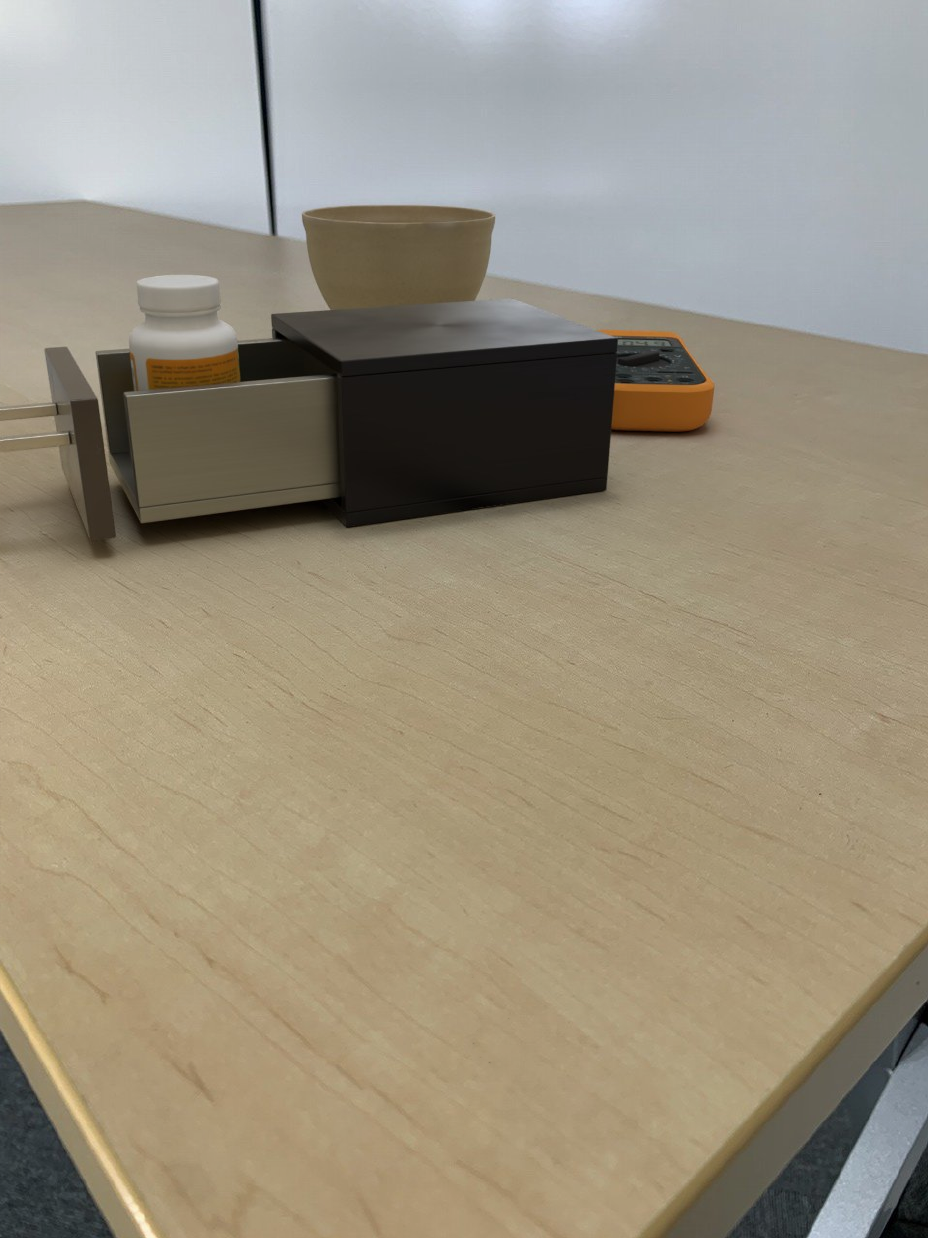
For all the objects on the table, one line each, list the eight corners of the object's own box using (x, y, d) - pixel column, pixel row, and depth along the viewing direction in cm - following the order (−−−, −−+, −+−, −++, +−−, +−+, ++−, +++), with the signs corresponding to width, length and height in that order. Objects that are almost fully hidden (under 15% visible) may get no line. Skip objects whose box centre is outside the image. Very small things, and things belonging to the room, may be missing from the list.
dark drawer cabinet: (346, 527, 57) (341, 361, 53) (279, 457, 67) (270, 313, 63) (606, 490, 63) (618, 337, 59) (508, 431, 73) (513, 297, 69)
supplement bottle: (268, 468, 59) (256, 280, 55) (183, 492, 55) (163, 293, 51) (207, 446, 62) (191, 267, 58) (123, 468, 58) (99, 279, 54)
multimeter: (585, 434, 73) (589, 382, 71) (568, 369, 89) (571, 326, 87) (715, 437, 72) (722, 385, 71) (675, 371, 89) (679, 328, 87)
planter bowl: (519, 335, 100) (524, 208, 96) (442, 372, 87) (443, 227, 82) (365, 318, 106) (362, 198, 102) (271, 350, 93) (263, 214, 88)
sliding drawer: (-42, 559, 50) (-71, 412, 47) (-50, 482, 59) (-75, 356, 56) (377, 502, 58) (375, 373, 55) (312, 442, 67) (307, 329, 64)
